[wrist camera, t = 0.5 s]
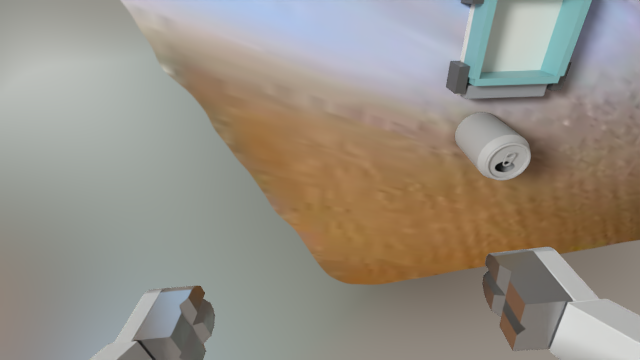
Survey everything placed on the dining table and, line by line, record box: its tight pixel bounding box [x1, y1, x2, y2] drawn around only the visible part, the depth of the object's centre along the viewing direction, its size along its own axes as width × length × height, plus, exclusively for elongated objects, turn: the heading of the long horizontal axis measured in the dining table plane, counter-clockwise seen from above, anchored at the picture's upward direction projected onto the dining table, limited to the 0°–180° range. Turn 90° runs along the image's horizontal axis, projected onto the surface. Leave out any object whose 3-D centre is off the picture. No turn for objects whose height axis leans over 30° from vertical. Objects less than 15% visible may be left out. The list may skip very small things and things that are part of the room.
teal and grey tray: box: [446, 0, 592, 99], centre depth 44 cm, size 18×16×6 cm
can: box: [455, 112, 531, 180], centre depth 50 cm, size 8×8×12 cm
